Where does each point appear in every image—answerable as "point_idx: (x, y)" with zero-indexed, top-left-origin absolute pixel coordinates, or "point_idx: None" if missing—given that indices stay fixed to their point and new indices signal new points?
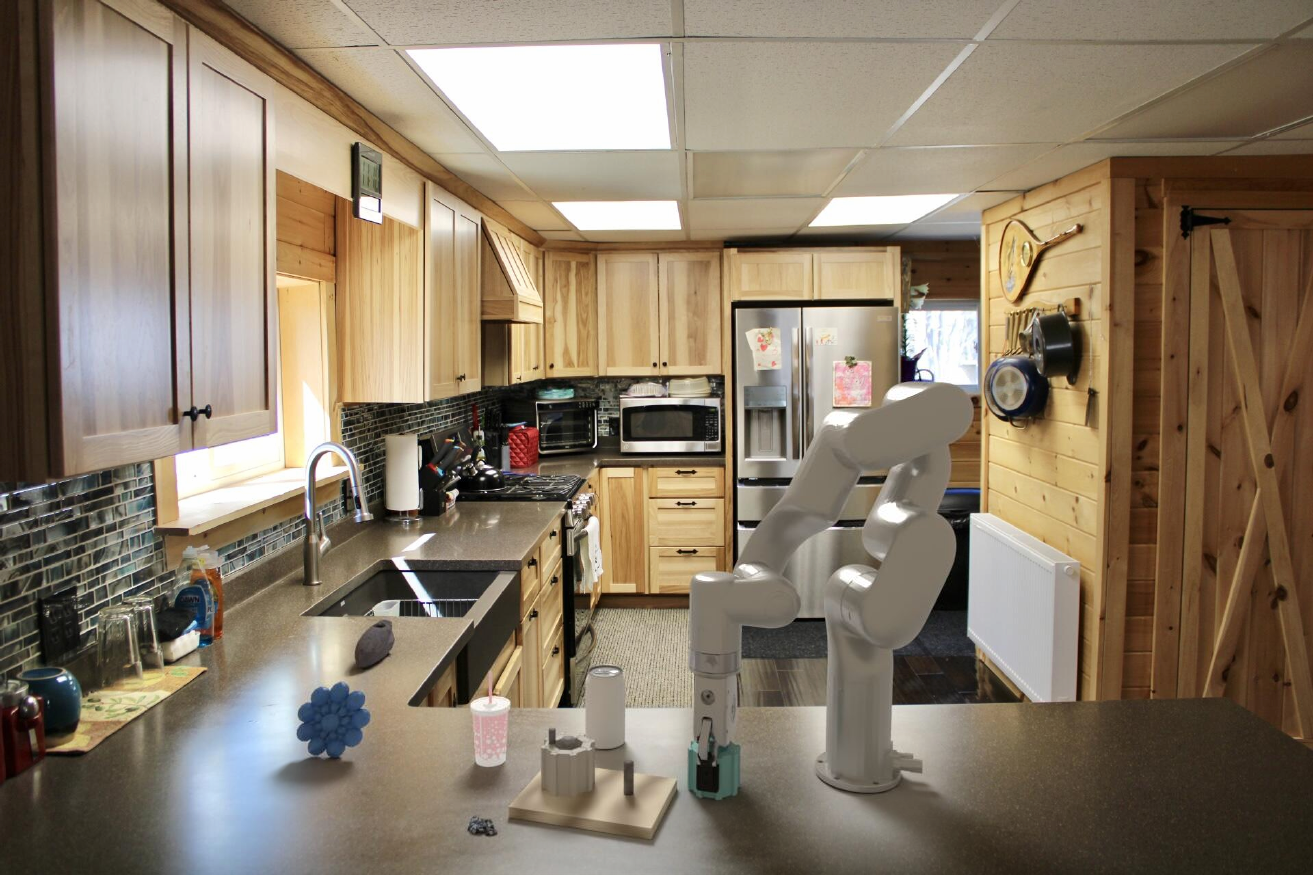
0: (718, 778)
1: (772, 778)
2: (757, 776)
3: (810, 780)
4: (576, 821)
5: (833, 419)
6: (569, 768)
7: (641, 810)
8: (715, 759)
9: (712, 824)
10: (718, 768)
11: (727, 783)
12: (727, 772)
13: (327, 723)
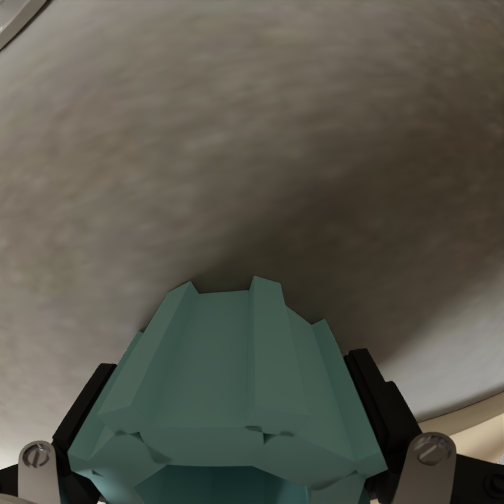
0: (384, 383)
1: (65, 171)
2: (74, 234)
3: (44, 41)
4: None
5: None
6: None
7: (470, 450)
8: (454, 464)
9: (477, 292)
10: (403, 419)
11: (296, 336)
12: (303, 369)
13: None
